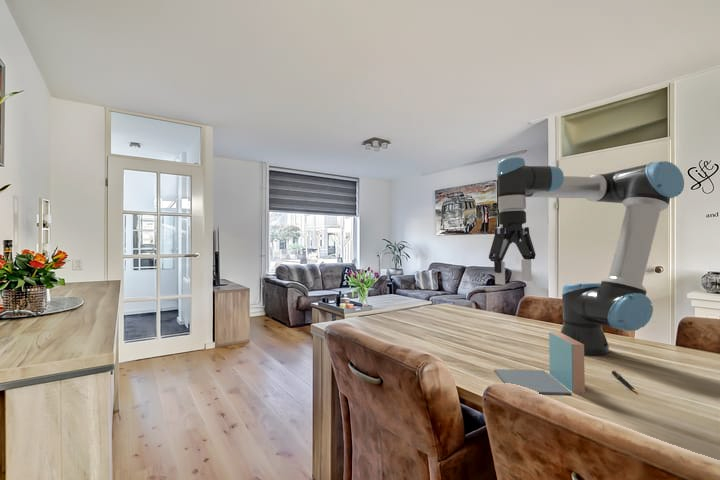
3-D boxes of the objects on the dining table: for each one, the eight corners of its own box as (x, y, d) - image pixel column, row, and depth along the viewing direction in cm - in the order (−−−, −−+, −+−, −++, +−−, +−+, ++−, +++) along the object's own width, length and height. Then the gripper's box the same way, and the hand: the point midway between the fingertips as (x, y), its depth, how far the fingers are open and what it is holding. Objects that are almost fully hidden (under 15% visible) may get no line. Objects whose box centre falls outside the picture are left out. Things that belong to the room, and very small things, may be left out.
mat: (543, 372, 100) (543, 370, 100) (571, 394, 85) (571, 392, 85) (494, 370, 101) (493, 369, 101) (512, 393, 86) (512, 391, 86)
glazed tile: (560, 374, 98) (559, 332, 98) (584, 392, 86) (584, 344, 86) (549, 374, 98) (549, 332, 98) (572, 392, 86) (571, 344, 86)
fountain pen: (638, 394, 85) (638, 388, 85) (633, 394, 85) (633, 388, 85) (614, 373, 98) (614, 368, 98) (609, 373, 99) (609, 368, 99)
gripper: (523, 213, 112) (525, 278, 112) (474, 210, 98) (476, 284, 98) (546, 211, 106) (548, 279, 106) (497, 208, 92) (500, 287, 92)
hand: (513, 282), depth 102 cm, fingers open, 13 cm apart
